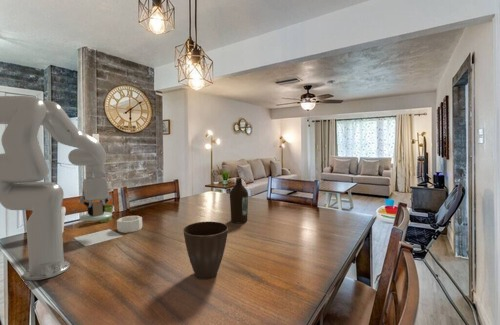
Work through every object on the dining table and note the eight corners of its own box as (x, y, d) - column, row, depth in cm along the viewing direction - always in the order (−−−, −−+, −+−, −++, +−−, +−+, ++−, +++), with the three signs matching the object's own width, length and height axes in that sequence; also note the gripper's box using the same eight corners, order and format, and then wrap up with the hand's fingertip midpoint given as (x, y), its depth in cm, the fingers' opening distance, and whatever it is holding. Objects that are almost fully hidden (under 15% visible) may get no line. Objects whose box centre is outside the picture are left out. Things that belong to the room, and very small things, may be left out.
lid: (116, 216, 122) (116, 202, 122) (85, 222, 112) (85, 206, 112) (105, 212, 130) (105, 199, 130) (76, 217, 120) (75, 202, 120)
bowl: (145, 229, 135) (145, 218, 134) (124, 235, 126) (123, 223, 126) (135, 225, 142) (135, 214, 141) (114, 230, 133) (114, 219, 133)
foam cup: (53, 238, 122) (52, 211, 121) (38, 237, 124) (36, 210, 123) (71, 232, 132) (70, 207, 131) (56, 230, 133) (55, 206, 132)
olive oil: (226, 222, 146) (226, 178, 145) (235, 217, 156) (234, 176, 154) (243, 224, 142) (243, 179, 141) (251, 219, 152) (250, 177, 150)
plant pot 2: (229, 263, 96) (229, 221, 95) (227, 284, 81) (226, 235, 80) (189, 263, 96) (188, 221, 94) (179, 285, 81) (178, 236, 80)
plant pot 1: (117, 219, 154) (117, 204, 154) (107, 223, 145) (107, 208, 144) (103, 218, 155) (102, 204, 155) (92, 223, 146) (91, 208, 145)
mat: (123, 237, 124) (123, 236, 124) (85, 247, 111) (85, 246, 111) (109, 230, 134) (109, 229, 134) (73, 238, 122) (73, 237, 122)
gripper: (111, 174, 129) (111, 210, 130) (71, 176, 117) (73, 216, 117) (117, 174, 124) (118, 212, 125) (77, 177, 112) (78, 219, 112)
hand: (96, 214), depth 121 cm, fingers closed on lid, 4 cm apart
